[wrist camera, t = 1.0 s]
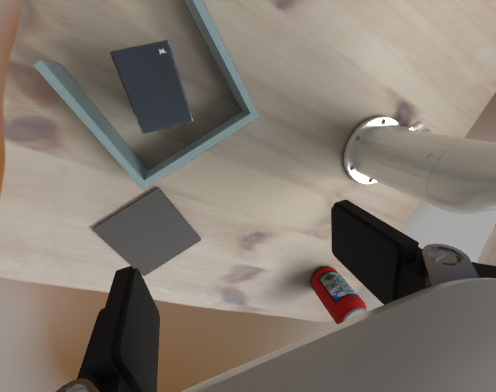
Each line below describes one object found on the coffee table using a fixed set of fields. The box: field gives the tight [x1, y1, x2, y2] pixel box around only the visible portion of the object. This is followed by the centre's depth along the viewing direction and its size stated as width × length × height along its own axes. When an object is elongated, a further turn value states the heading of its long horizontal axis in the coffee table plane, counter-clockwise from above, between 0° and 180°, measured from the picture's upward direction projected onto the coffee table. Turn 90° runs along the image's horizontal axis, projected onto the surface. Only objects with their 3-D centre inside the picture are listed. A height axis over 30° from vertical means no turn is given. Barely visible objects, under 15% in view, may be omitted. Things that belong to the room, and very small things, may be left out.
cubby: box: [33, 0, 260, 190], centre depth 31 cm, size 19×17×5 cm
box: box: [110, 40, 193, 134], centre depth 28 cm, size 8×6×11 cm
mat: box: [92, 188, 201, 276], centre depth 40 cm, size 12×12×1 cm
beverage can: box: [311, 267, 367, 324], centre depth 50 cm, size 7×7×12 cm
